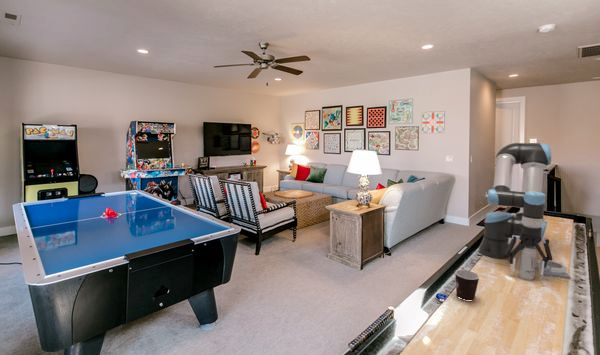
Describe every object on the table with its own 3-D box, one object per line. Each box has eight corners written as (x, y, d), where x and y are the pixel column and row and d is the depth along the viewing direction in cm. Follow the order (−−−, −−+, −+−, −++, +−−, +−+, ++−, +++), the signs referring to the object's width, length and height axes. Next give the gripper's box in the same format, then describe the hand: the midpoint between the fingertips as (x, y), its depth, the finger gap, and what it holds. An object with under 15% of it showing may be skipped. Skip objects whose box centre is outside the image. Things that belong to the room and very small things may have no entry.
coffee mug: (455, 289, 132) (456, 267, 131) (478, 295, 127) (480, 273, 126) (450, 302, 123) (452, 278, 121) (475, 309, 118) (477, 284, 116)
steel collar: (542, 272, 146) (543, 267, 145) (533, 263, 156) (534, 258, 155) (569, 275, 142) (570, 270, 142) (558, 266, 152) (559, 261, 152)
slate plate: (544, 275, 144) (544, 273, 144) (532, 263, 157) (533, 261, 157) (570, 279, 141) (570, 277, 141) (556, 266, 154) (556, 264, 154)
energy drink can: (528, 282, 139) (532, 250, 136) (514, 276, 144) (518, 245, 142) (536, 279, 141) (540, 248, 139) (522, 273, 146) (526, 243, 144)
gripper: (504, 225, 139) (500, 271, 142) (566, 231, 132) (560, 279, 135) (499, 221, 146) (495, 265, 149) (558, 225, 139) (552, 272, 142)
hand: (526, 272), depth 142 cm, fingers open, 10 cm apart
